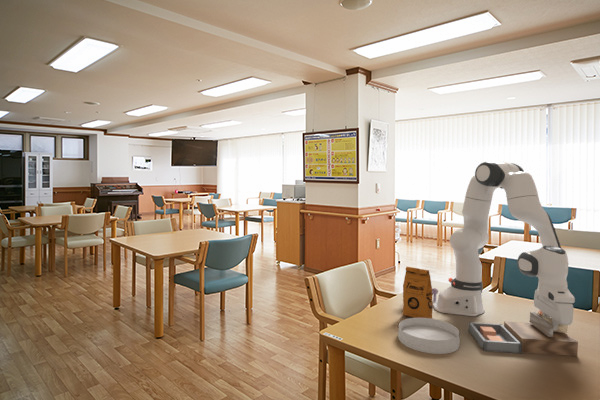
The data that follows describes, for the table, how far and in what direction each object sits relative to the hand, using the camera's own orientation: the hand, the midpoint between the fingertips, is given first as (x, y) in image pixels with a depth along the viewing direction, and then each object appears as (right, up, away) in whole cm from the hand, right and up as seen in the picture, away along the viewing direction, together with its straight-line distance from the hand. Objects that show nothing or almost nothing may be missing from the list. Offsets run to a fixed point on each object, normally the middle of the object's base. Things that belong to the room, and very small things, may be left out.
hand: (550, 327), depth 137 cm
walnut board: (-4, -7, +1) cm, 8 cm away
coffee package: (-41, -5, +28) cm, 49 cm away
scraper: (0, -1, 0) cm, 1 cm away
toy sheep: (-34, -4, +46) cm, 57 cm away
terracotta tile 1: (-21, -4, -1) cm, 22 cm away
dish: (-44, -7, +4) cm, 45 cm away
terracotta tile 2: (-20, -3, +7) cm, 21 cm away
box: (-20, -6, +3) cm, 21 cm away
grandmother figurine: (+18, -5, +31) cm, 36 cm away
